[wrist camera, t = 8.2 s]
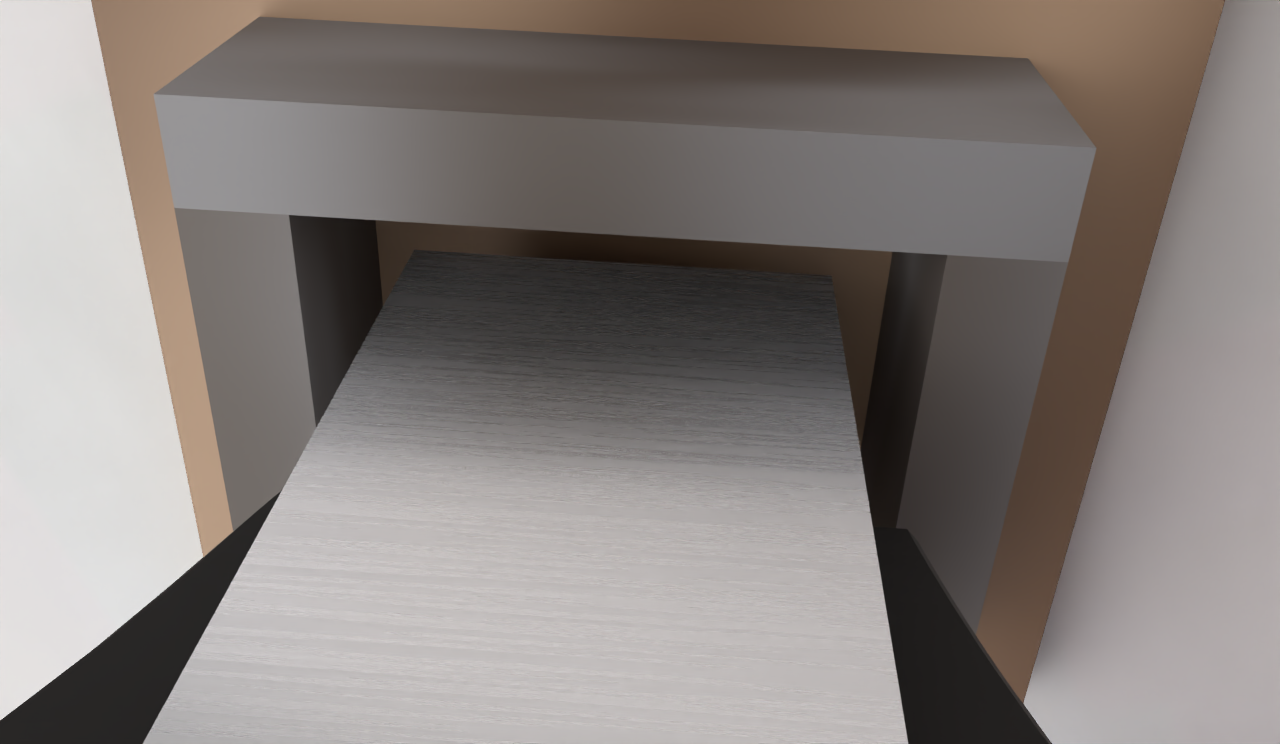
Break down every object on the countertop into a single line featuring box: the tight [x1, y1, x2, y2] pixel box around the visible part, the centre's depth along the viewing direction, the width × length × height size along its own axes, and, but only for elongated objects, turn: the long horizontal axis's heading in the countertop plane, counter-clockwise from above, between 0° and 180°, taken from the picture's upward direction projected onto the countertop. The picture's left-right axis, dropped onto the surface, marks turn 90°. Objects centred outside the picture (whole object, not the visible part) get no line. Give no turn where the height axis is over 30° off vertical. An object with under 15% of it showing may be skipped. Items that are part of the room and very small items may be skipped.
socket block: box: [91, 0, 1225, 703], centre depth 13 cm, size 11×11×4 cm
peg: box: [143, 250, 908, 744], centre depth 9 cm, size 4×4×8 cm
